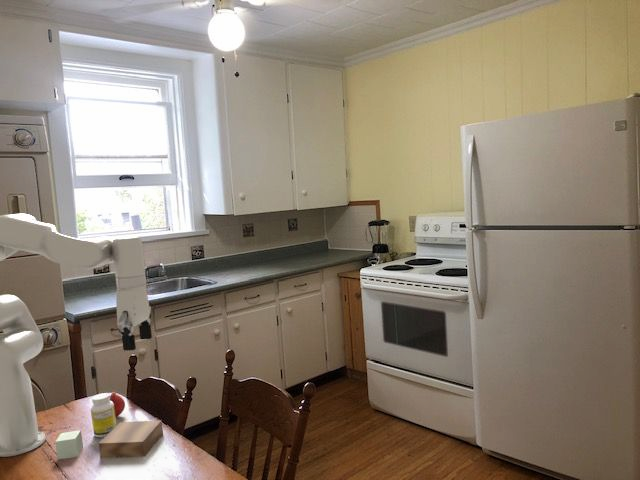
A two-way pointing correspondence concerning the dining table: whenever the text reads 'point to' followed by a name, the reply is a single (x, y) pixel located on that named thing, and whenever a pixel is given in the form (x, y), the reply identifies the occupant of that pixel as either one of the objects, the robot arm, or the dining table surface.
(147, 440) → the walnut block
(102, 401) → the pill bottle
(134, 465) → the dining table surface
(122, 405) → the onion
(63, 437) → the sage cube
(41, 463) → the dining table surface
